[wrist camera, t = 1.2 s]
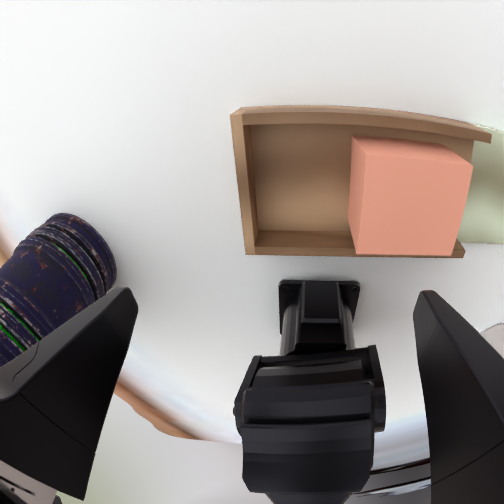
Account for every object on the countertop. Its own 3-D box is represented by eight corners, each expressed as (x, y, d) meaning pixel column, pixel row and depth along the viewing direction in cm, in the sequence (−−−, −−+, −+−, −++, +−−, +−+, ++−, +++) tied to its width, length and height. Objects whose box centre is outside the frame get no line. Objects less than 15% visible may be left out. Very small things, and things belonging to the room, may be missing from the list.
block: (429, 221, 17) (451, 255, 14) (347, 218, 18) (356, 254, 15) (442, 144, 14) (473, 166, 11) (351, 135, 15) (366, 154, 12)
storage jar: (130, 296, 28) (61, 423, 16) (65, 287, 29) (-2, 385, 17) (97, 208, 22) (-21, 340, 10) (31, 213, 24) (-64, 310, 12)
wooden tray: (515, 238, 17) (532, 259, 15) (252, 230, 21) (245, 254, 19) (539, 143, 12) (562, 157, 10) (240, 107, 16) (229, 115, 14)
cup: (512, 312, 22) (541, 376, 15) (510, 353, 26) (528, 406, 19) (461, 340, 25) (482, 409, 18) (467, 375, 29) (480, 431, 22)
